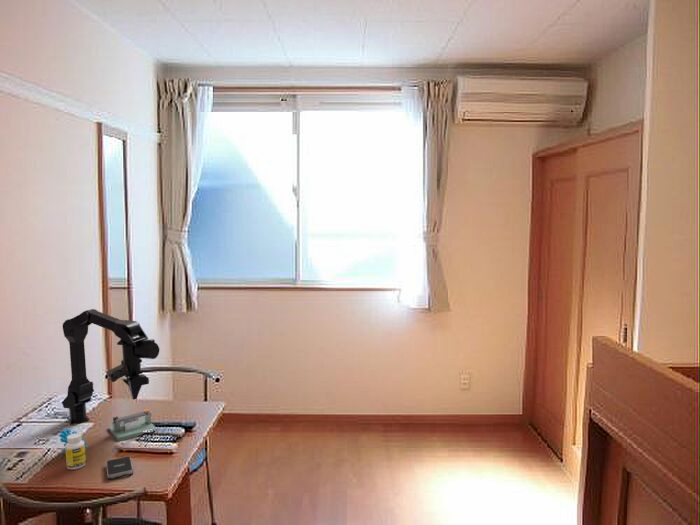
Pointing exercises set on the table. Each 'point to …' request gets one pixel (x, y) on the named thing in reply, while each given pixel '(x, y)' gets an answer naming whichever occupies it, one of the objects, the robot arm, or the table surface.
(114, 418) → the post
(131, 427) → the heatsink
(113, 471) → the external hard drive
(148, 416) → the post
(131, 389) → the robot arm
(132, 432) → the board
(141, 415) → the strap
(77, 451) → the supplement bottle
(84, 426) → the table surface
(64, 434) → the gear
